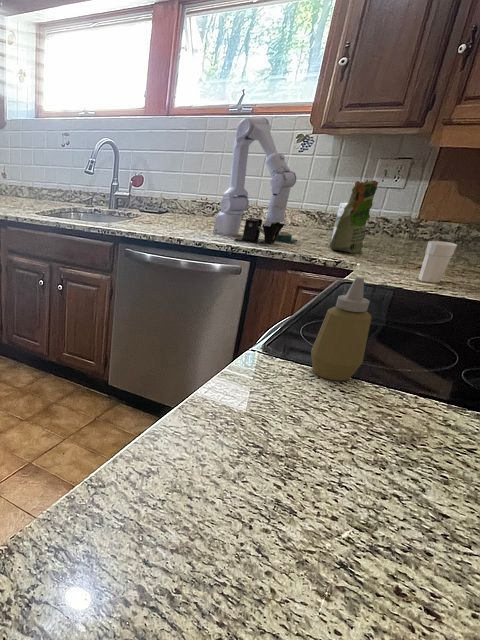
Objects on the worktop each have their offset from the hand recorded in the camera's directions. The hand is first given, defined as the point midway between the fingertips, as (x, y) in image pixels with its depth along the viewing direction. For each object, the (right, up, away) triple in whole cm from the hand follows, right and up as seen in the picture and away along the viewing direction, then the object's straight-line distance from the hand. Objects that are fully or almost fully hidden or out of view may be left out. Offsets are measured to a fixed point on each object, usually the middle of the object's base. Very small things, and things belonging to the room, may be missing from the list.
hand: (269, 243), depth 198 cm
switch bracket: (-5, +1, +5) cm, 7 cm away
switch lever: (-3, +4, +2) cm, 5 cm away
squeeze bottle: (-42, -47, -103) cm, 121 cm away
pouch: (+24, -5, -8) cm, 25 cm away
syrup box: (+33, +3, +9) cm, 35 cm away
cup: (+25, -21, -43) cm, 54 cm away
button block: (+8, +2, +6) cm, 10 cm away
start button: (+8, +4, +5) cm, 10 cm away
